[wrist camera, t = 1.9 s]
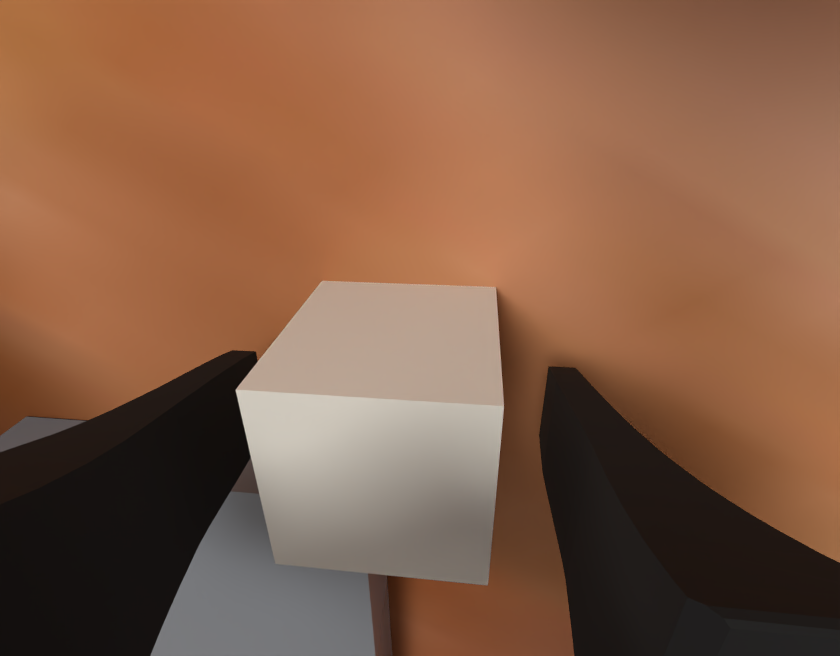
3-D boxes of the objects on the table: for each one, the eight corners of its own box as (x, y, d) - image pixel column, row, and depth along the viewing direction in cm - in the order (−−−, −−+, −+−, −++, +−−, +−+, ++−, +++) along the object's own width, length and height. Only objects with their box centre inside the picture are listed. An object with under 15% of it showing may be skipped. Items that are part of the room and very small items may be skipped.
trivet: (378, 441, 15) (360, 502, 13) (392, 660, 20) (382, 728, 18) (26, 416, 16) (-44, 467, 14) (130, 629, 21) (92, 688, 19)
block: (496, 286, 12) (503, 406, 8) (486, 427, 14) (487, 585, 10) (322, 279, 12) (235, 389, 8) (337, 417, 15) (275, 564, 10)
